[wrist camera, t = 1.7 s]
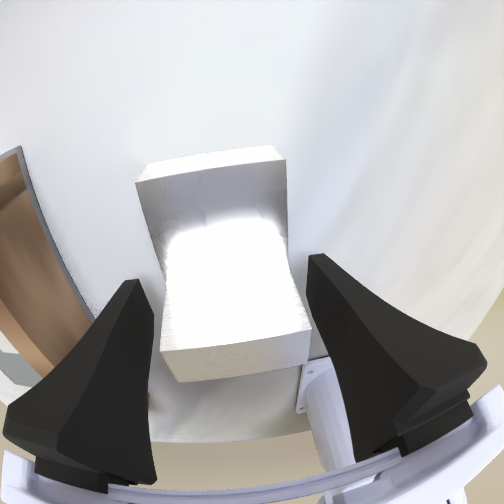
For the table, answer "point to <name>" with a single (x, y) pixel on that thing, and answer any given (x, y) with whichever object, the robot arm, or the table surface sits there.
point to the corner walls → (33, 281)
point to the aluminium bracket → (225, 264)
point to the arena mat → (3, 352)
